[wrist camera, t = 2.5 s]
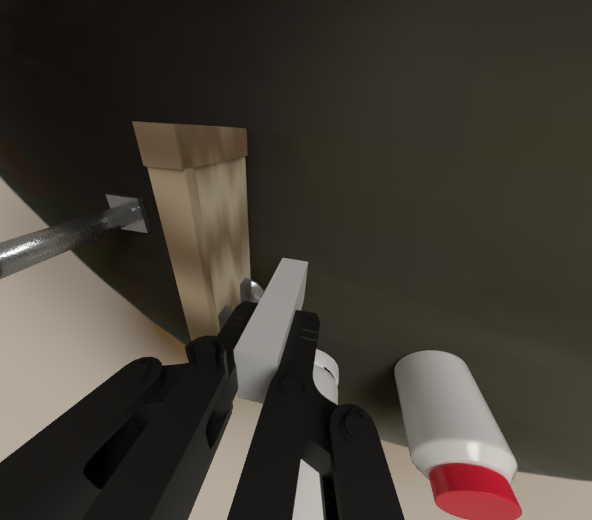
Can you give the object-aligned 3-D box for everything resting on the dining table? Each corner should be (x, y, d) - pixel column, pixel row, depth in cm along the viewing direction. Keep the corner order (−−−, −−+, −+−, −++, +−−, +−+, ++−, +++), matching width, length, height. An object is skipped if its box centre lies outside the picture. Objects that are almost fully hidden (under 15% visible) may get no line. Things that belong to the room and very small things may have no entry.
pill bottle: (467, 393, 26) (533, 536, 17) (396, 392, 29) (421, 517, 19) (470, 348, 23) (554, 494, 14) (390, 351, 25) (416, 477, 16)
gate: (255, 289, 24) (218, 353, 17) (235, 286, 24) (190, 346, 17) (251, 128, 16) (180, 125, 9) (221, 126, 17) (132, 121, 10)
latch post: (110, 193, 22) (-96, 244, 12) (142, 197, 22) (-45, 255, 12) (122, 226, 24) (-48, 296, 14) (151, 230, 24) (-2, 307, 13)
